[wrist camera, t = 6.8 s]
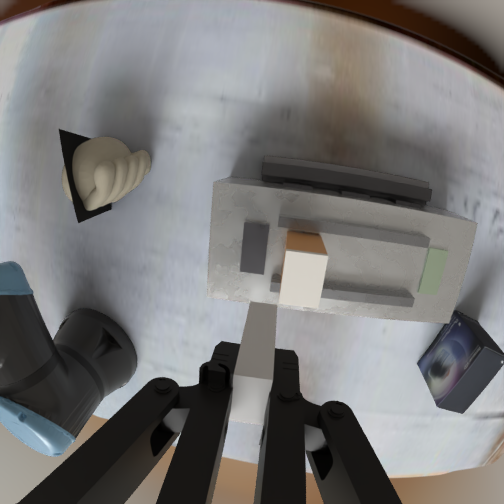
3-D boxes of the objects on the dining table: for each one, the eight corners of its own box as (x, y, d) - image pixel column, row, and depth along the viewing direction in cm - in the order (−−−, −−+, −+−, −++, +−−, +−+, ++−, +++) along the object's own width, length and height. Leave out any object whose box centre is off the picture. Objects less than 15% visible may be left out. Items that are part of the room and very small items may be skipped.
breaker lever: (281, 274, 31) (278, 303, 25) (287, 230, 30) (286, 250, 23) (313, 278, 31) (318, 308, 24) (320, 235, 29) (328, 256, 23)
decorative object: (147, 124, 38) (162, 195, 41) (79, 146, 37) (94, 214, 40) (125, 104, 26) (145, 203, 28) (36, 138, 25) (55, 230, 27)
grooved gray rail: (262, 179, 37) (260, 181, 34) (265, 155, 36) (263, 155, 33) (420, 204, 35) (429, 207, 32) (424, 181, 34) (432, 183, 31)
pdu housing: (222, 270, 41) (203, 302, 32) (229, 173, 37) (210, 178, 28) (425, 295, 38) (453, 329, 29) (446, 206, 34) (484, 222, 25)
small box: (452, 307, 38) (485, 345, 28) (478, 320, 38) (510, 357, 28) (414, 363, 41) (435, 408, 32) (441, 373, 42) (463, 415, 32)
